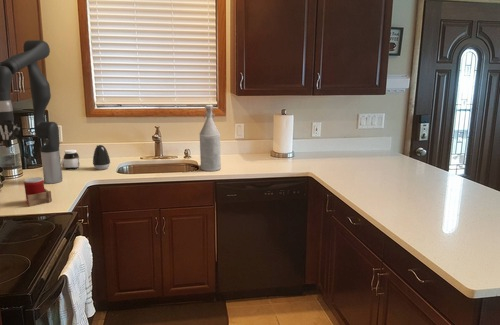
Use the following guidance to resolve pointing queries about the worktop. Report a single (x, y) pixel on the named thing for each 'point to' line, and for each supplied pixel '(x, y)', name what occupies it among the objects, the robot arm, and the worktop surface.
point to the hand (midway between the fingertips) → (8, 147)
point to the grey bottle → (210, 143)
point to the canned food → (33, 186)
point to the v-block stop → (39, 198)
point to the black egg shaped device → (101, 158)
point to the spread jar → (71, 159)
